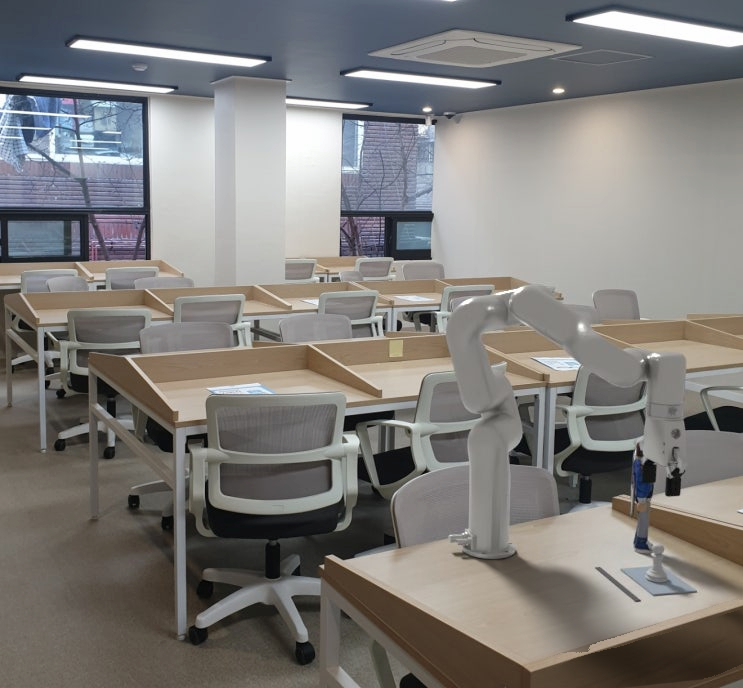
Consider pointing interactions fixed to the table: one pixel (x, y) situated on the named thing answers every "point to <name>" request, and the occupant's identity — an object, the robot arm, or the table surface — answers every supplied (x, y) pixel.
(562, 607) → the table surface
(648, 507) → the figurine
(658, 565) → the chess piece
